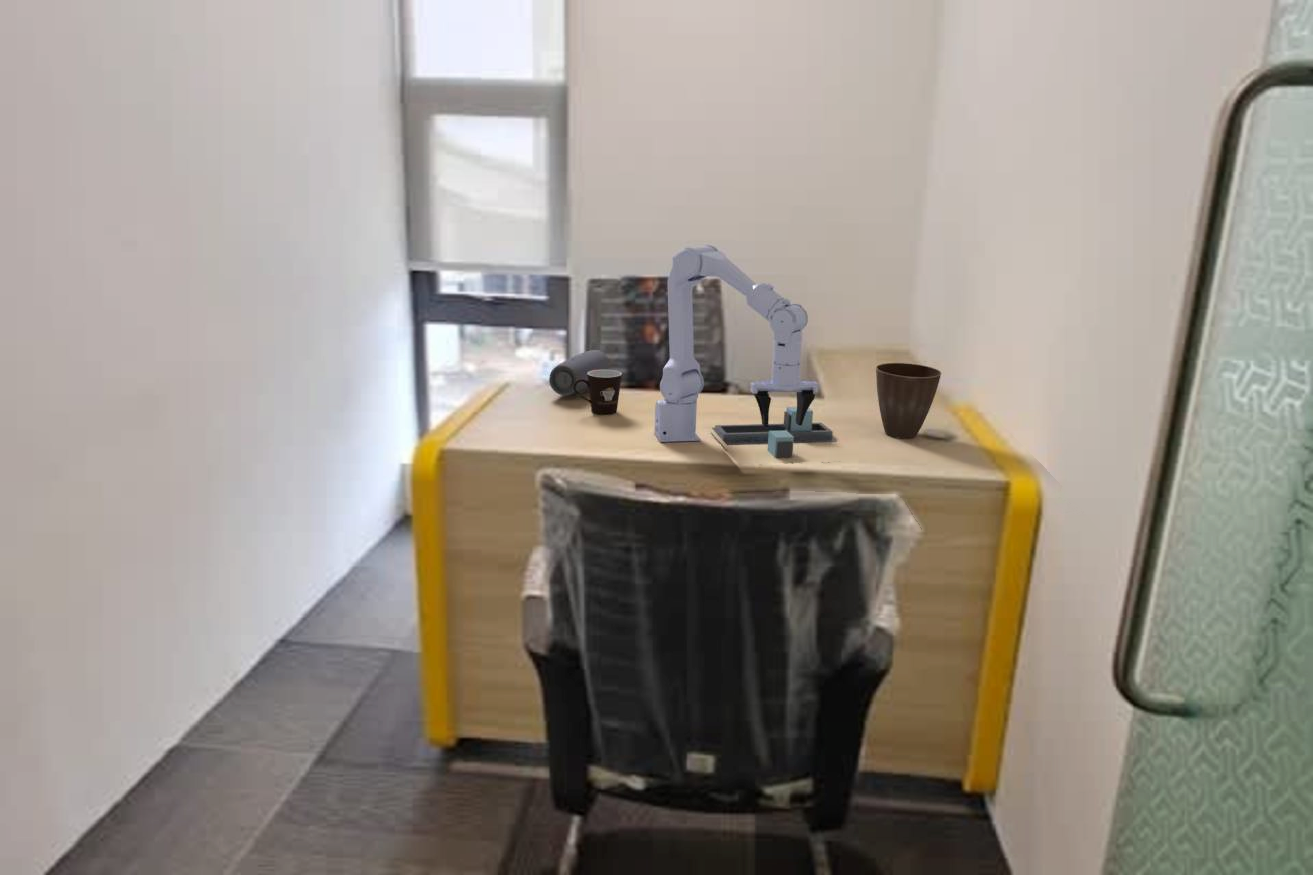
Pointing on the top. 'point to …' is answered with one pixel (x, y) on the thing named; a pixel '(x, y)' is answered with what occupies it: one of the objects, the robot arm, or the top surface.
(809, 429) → the light blue block
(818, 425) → the rail
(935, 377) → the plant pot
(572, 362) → the bluetooth speaker
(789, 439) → the lidded storage box
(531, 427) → the top surface
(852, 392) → the top surface
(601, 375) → the coffee mug
